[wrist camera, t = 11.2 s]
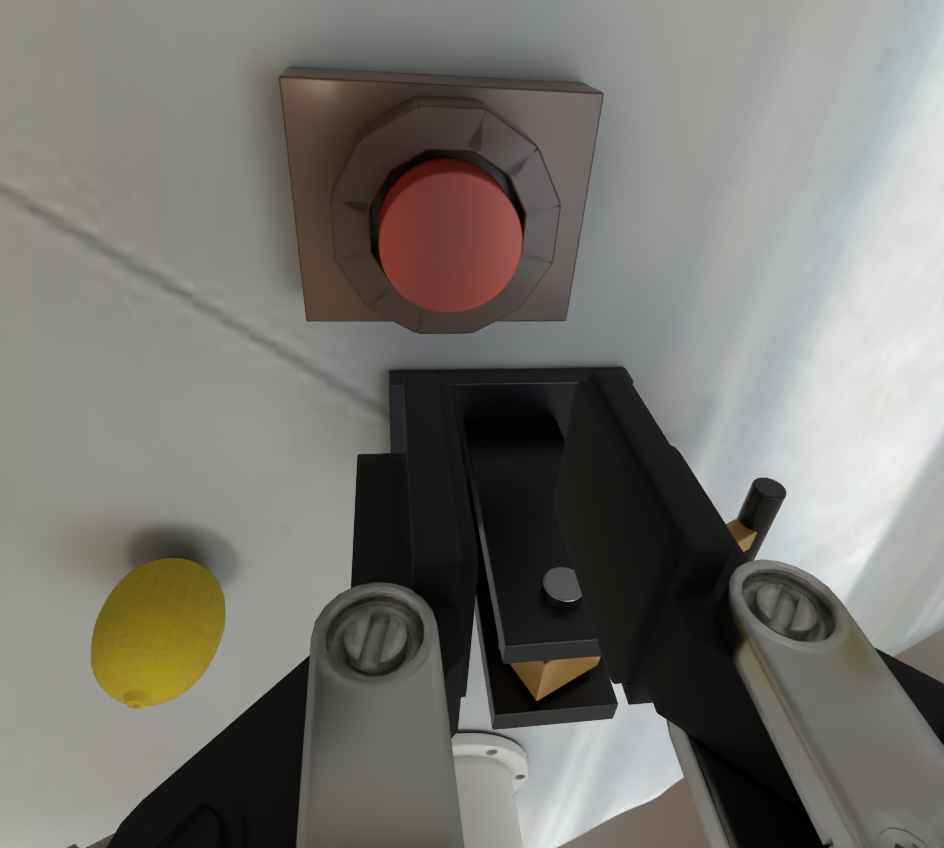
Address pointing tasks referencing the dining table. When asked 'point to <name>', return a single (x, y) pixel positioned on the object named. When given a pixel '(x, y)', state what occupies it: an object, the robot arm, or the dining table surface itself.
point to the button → (449, 236)
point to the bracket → (521, 537)
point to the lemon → (157, 632)
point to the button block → (419, 140)
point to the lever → (746, 532)
